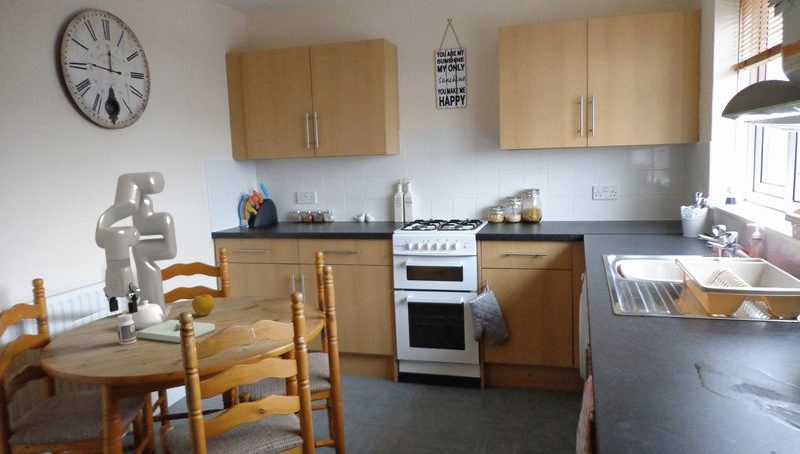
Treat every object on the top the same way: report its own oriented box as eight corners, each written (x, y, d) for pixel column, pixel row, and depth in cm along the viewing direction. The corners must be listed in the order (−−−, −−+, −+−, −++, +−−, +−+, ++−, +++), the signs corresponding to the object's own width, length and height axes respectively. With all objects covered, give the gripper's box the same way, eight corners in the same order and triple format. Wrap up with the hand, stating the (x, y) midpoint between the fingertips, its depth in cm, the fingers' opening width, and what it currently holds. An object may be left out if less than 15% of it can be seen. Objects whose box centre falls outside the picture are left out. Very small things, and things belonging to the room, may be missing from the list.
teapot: (181, 320, 231) (178, 295, 229) (167, 329, 218) (164, 303, 217) (132, 322, 231) (129, 298, 230) (116, 332, 219) (113, 306, 218)
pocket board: (137, 338, 209) (136, 331, 209) (172, 325, 224) (171, 319, 223) (181, 343, 200) (181, 337, 199) (215, 330, 214) (214, 323, 214)
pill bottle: (139, 339, 207) (136, 313, 206) (130, 345, 201) (127, 317, 200) (124, 340, 208) (121, 313, 206) (115, 345, 202) (112, 318, 201)
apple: (206, 319, 230) (204, 297, 229) (188, 318, 233) (185, 296, 232) (220, 312, 239) (218, 291, 238) (202, 312, 242) (200, 291, 241)
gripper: (92, 265, 201) (97, 313, 203) (126, 266, 194) (131, 316, 195) (111, 261, 208) (116, 308, 210) (144, 262, 200) (149, 310, 202)
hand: (123, 312), depth 203 cm, fingers open, 9 cm apart
